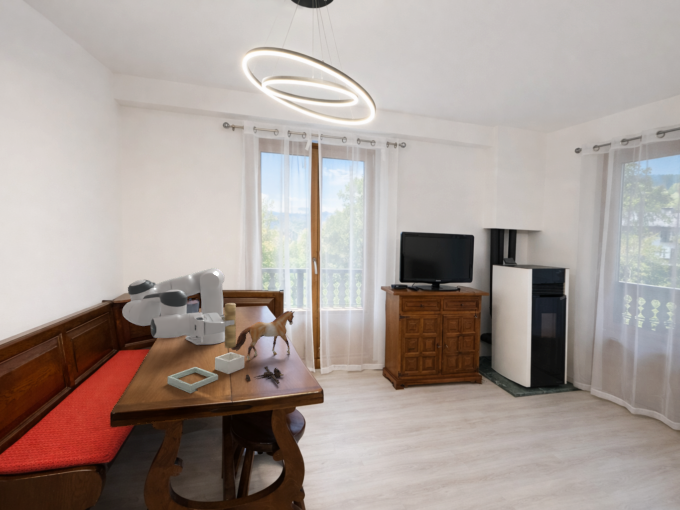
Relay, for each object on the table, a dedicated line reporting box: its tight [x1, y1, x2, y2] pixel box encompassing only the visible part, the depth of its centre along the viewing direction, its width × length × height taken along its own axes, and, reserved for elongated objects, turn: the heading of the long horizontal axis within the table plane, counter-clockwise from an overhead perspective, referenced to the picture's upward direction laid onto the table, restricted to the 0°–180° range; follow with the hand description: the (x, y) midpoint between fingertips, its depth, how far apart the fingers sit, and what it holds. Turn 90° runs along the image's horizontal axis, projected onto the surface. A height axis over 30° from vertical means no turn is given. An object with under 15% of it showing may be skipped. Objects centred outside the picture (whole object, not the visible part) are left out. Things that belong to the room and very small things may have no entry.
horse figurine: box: [230, 310, 295, 361], centre depth 160 cm, size 31×8×21 cm, turn 123°
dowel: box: [224, 302, 237, 349], centre depth 141 cm, size 4×4×18 cm
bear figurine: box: [245, 365, 285, 385], centre depth 135 cm, size 18×4×14 cm
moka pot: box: [187, 297, 201, 313], centre depth 199 cm, size 10×15×20 cm, turn 172°
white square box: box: [214, 351, 245, 375], centre depth 142 cm, size 8×8×6 cm
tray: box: [167, 366, 219, 394], centre depth 130 cm, size 14×12×3 cm
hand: (232, 320), depth 141 cm, fingers closed on dowel, 4 cm apart
